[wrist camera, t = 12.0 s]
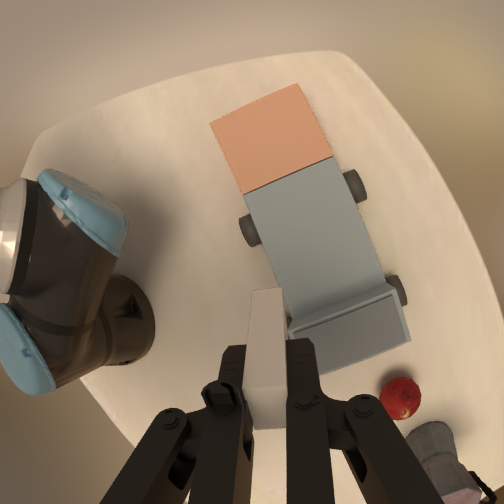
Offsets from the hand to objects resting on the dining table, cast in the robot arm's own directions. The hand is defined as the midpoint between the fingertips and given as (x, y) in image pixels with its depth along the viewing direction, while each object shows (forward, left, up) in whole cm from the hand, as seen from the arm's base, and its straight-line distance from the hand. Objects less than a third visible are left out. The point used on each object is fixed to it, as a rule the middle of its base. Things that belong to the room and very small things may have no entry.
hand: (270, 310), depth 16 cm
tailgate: (-5, +11, -20) cm, 23 cm away
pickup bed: (+2, +2, -24) cm, 24 cm away
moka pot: (+29, -19, -24) cm, 43 cm away
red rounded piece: (+18, -11, -24) cm, 32 cm away
